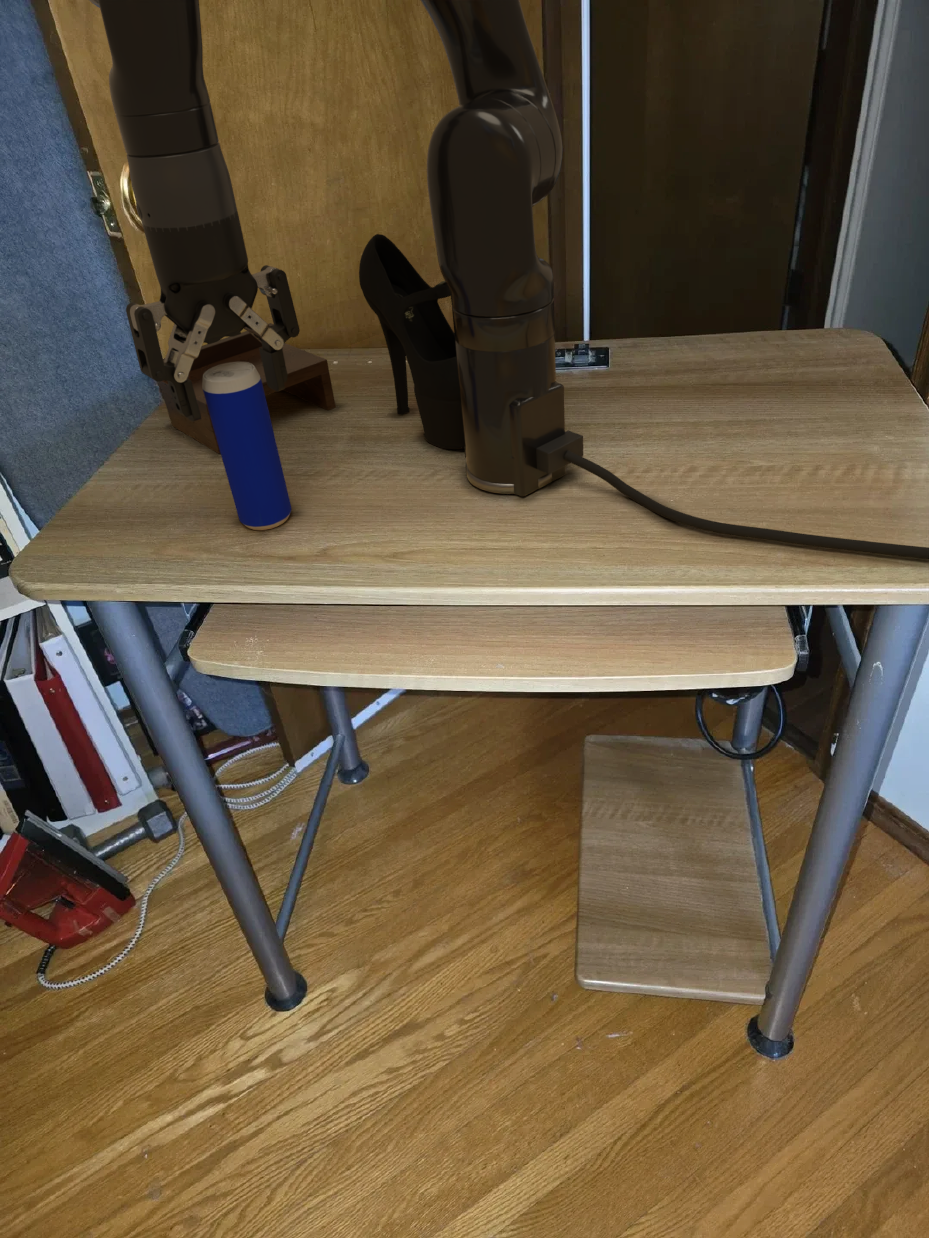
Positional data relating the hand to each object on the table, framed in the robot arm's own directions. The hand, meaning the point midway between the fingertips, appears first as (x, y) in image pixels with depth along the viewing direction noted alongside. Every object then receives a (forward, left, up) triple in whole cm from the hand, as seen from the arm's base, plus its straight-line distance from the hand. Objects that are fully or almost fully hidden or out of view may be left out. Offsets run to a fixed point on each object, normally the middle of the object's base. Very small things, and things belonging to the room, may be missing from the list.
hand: (236, 403), depth 80 cm
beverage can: (-1, 0, -12) cm, 12 cm away
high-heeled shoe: (+1, -24, -12) cm, 27 cm away
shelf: (+22, -12, -12) cm, 28 cm away
